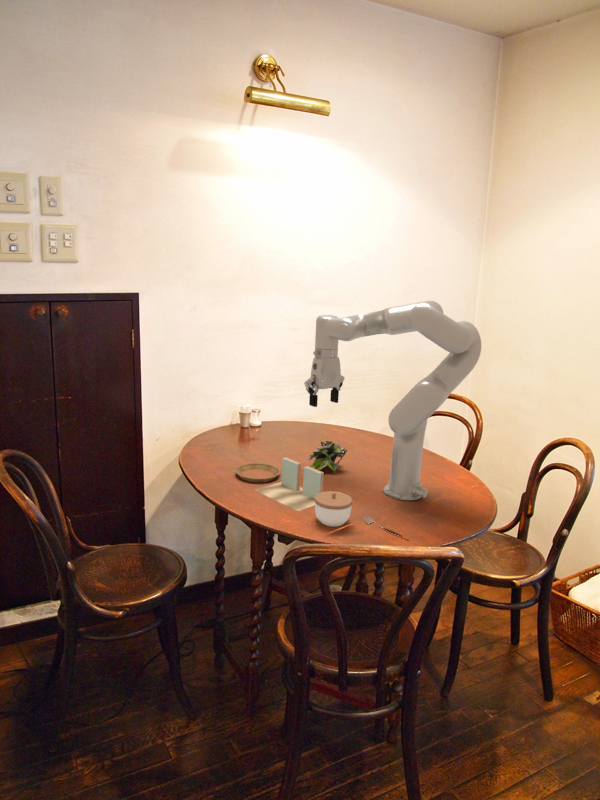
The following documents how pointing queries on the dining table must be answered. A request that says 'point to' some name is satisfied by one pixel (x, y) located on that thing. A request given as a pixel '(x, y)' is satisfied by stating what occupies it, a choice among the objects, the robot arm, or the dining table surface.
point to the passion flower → (327, 455)
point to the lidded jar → (333, 508)
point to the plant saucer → (257, 466)
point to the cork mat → (287, 496)
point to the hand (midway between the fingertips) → (323, 404)
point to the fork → (381, 527)
